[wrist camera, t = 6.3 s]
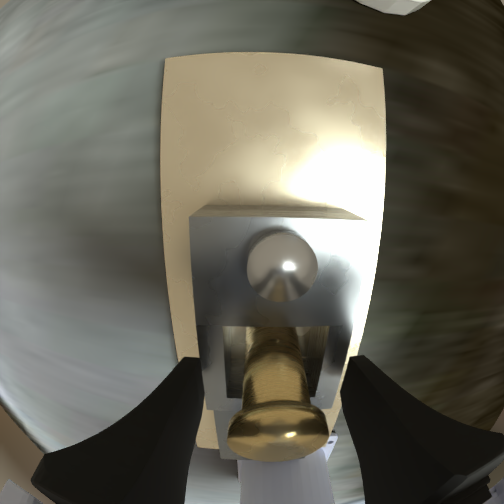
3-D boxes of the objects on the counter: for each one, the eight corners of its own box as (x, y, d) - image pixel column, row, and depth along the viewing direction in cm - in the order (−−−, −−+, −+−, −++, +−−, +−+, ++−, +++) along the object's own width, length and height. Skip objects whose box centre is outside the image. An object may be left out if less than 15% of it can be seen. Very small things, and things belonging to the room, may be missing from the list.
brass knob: (299, 350, 14) (318, 458, 7) (238, 350, 14) (229, 461, 7) (306, 299, 13) (339, 411, 6) (237, 298, 13) (224, 415, 6)
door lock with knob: (323, 437, 18) (332, 483, 13) (199, 437, 18) (190, 484, 13) (374, 74, 10) (421, 41, 6) (171, 65, 10) (134, 24, 6)
